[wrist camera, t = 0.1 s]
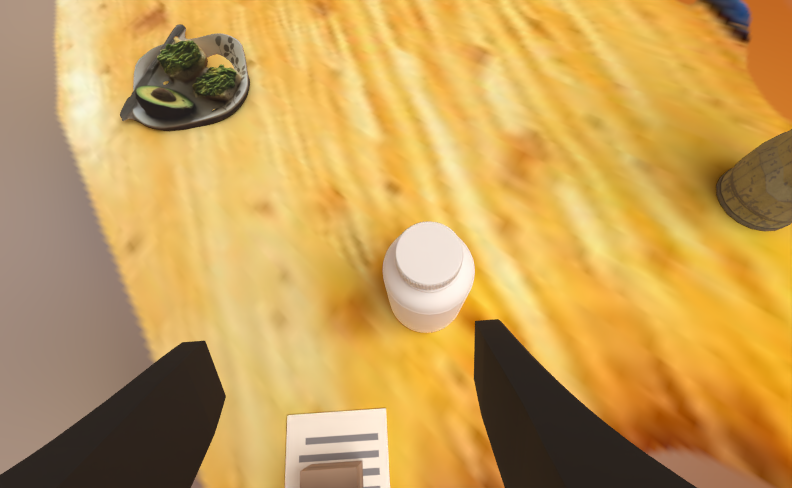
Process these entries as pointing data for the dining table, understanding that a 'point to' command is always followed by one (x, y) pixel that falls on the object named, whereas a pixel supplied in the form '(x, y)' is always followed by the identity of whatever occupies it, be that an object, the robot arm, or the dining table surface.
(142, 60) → the salad plate
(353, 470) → the walnut block
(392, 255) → the pill bottle
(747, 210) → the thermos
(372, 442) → the letter
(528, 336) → the dining table surface
